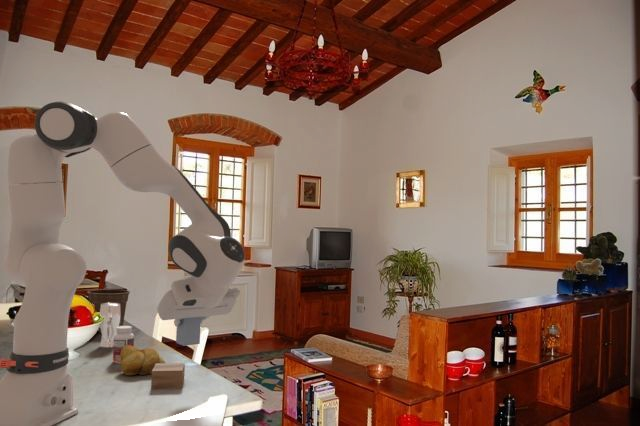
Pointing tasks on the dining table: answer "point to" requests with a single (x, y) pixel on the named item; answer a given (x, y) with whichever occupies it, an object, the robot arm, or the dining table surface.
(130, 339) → the pill bottle
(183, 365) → the walnut block
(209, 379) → the dining table surface
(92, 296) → the plant pot
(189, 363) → the dining table surface
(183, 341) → the slate block
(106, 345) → the beer glass
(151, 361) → the bread roll
